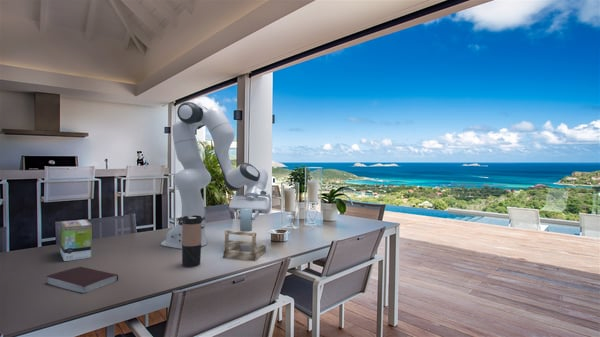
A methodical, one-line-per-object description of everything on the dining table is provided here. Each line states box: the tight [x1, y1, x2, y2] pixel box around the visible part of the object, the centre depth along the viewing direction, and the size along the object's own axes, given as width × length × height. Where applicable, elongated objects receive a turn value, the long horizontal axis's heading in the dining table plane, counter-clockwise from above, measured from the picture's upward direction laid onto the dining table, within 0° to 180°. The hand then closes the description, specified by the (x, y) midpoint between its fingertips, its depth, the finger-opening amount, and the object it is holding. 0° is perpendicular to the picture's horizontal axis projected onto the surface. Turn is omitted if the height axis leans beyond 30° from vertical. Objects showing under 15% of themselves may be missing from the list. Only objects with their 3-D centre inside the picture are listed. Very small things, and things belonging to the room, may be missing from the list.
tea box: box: [59, 219, 93, 262], centre depth 144 cm, size 15×10×15 cm, turn 41°
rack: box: [222, 229, 267, 261], centre depth 152 cm, size 15×15×12 cm
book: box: [45, 266, 119, 294], centre depth 114 cm, size 12×19×3 cm, turn 69°
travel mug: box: [181, 215, 202, 268], centre depth 136 cm, size 8×8×20 cm
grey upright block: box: [239, 208, 253, 232], centre depth 152 cm, size 6×6×10 cm
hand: (245, 219), depth 151 cm, fingers closed on grey upright block, 5 cm apart
